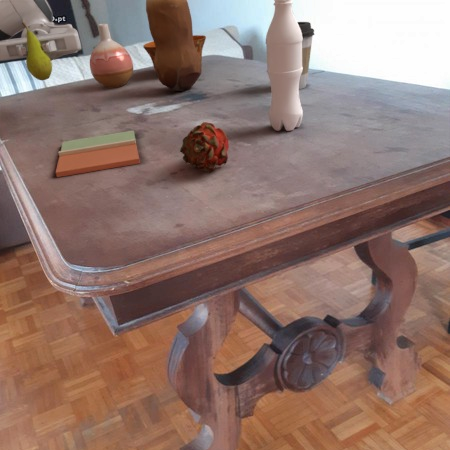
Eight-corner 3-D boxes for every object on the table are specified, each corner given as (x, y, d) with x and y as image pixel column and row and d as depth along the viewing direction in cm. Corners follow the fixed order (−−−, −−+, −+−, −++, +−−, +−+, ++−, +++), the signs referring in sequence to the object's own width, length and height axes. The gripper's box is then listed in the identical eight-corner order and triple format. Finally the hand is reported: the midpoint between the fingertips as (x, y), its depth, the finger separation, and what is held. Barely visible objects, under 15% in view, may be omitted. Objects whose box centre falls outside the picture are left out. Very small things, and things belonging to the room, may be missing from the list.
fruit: (49, 82, 110) (31, 23, 103) (27, 83, 111) (8, 25, 104) (60, 76, 114) (44, 19, 107) (39, 78, 115) (21, 21, 108)
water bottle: (264, 132, 100) (258, -8, 85) (274, 122, 105) (269, -12, 91) (298, 133, 97) (297, -11, 83) (306, 122, 103) (306, -15, 88)
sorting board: (57, 177, 90) (54, 168, 89) (63, 146, 106) (61, 138, 105) (139, 163, 92) (138, 154, 91) (134, 134, 108) (132, 126, 107)
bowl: (136, 76, 164) (130, 44, 159) (184, 63, 175) (179, 33, 169) (173, 81, 151) (168, 47, 145) (221, 67, 162) (218, 34, 156)
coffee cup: (314, 80, 133) (315, 19, 125) (313, 90, 124) (314, 25, 116) (274, 83, 136) (272, 23, 127) (270, 93, 127) (267, 29, 118)
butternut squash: (173, 84, 148) (159, -11, 133) (211, 84, 143) (201, -15, 128) (149, 96, 138) (131, -5, 124) (189, 96, 133) (175, -9, 118)
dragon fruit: (208, 189, 82) (203, 174, 93) (244, 154, 80) (235, 143, 91) (173, 153, 79) (172, 142, 90) (209, 116, 77) (204, 109, 88)
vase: (111, 80, 163) (98, 22, 152) (144, 80, 157) (133, 19, 147) (86, 90, 153) (70, 28, 143) (120, 91, 148) (106, 26, 137)
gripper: (-7, 33, 116) (-18, 40, 105) (77, 22, 118) (75, 28, 107) (3, 62, 120) (-7, 71, 109) (84, 50, 122) (82, 59, 111)
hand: (34, 50), depth 108 cm, fingers closed on fruit, 4 cm apart
